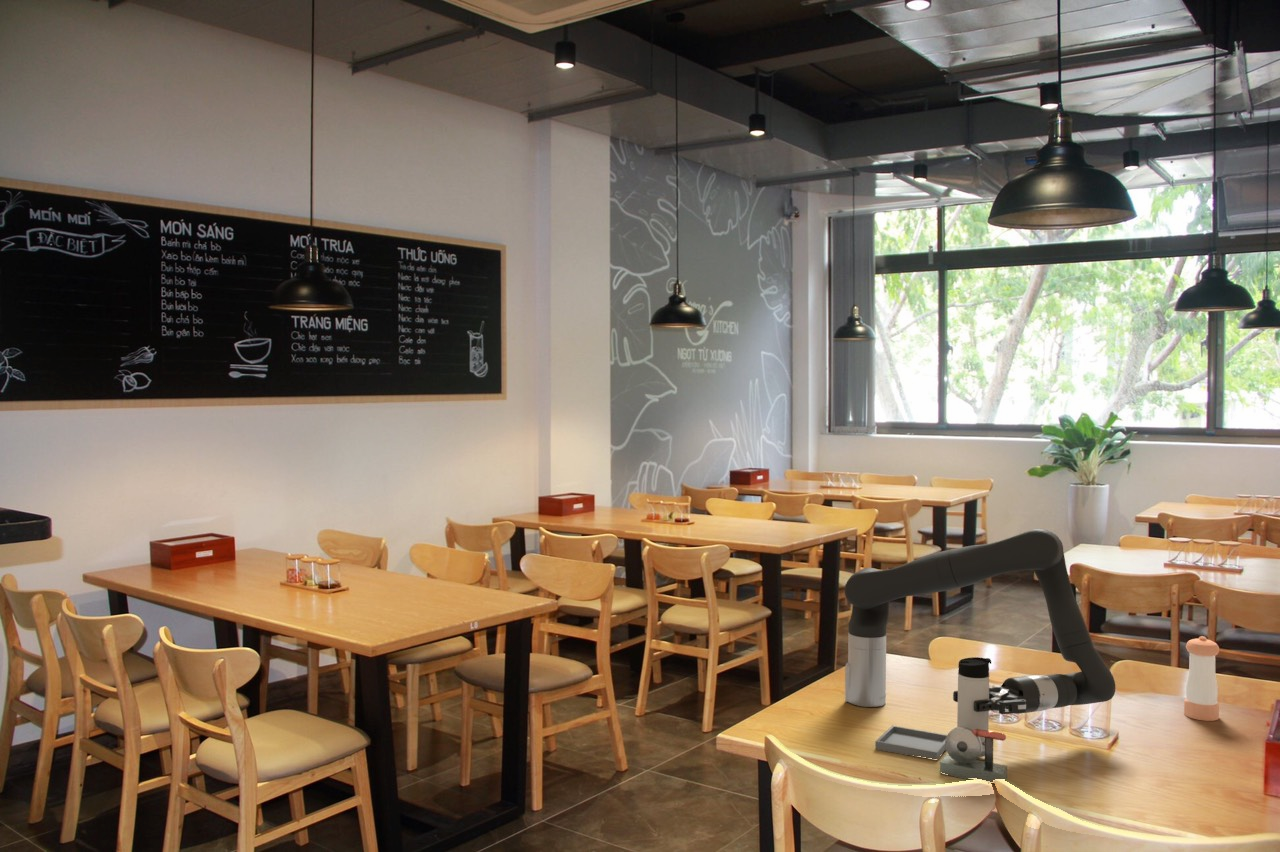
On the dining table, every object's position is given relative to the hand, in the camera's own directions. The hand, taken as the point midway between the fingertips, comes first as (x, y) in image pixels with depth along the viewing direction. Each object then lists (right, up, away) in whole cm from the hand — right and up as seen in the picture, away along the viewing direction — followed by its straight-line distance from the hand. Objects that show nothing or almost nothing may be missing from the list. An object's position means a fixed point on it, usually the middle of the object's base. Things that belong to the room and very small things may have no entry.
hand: (964, 701), depth 209 cm
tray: (-8, -12, +8) cm, 17 cm away
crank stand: (-1, -13, -9) cm, 15 cm away
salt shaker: (+66, -12, +29) cm, 73 cm away
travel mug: (+2, -11, +1) cm, 11 cm away
